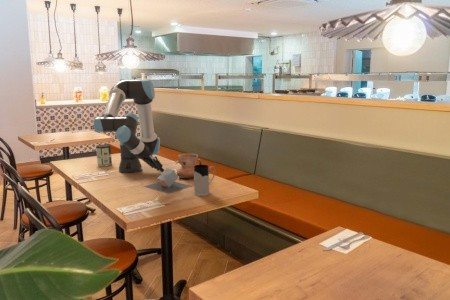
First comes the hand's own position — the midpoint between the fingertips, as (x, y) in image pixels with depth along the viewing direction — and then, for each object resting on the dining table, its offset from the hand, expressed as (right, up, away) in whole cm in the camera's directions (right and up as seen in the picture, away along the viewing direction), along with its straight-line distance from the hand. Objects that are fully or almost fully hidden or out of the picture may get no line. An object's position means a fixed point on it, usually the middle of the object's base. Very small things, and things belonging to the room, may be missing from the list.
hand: (165, 174), depth 213 cm
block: (-1, -5, 0) cm, 6 cm away
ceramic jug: (+11, -4, +24) cm, 27 cm away
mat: (+1, -8, +3) cm, 8 cm away
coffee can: (-54, +3, +63) cm, 83 cm away
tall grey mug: (+23, -10, -7) cm, 26 cm away
